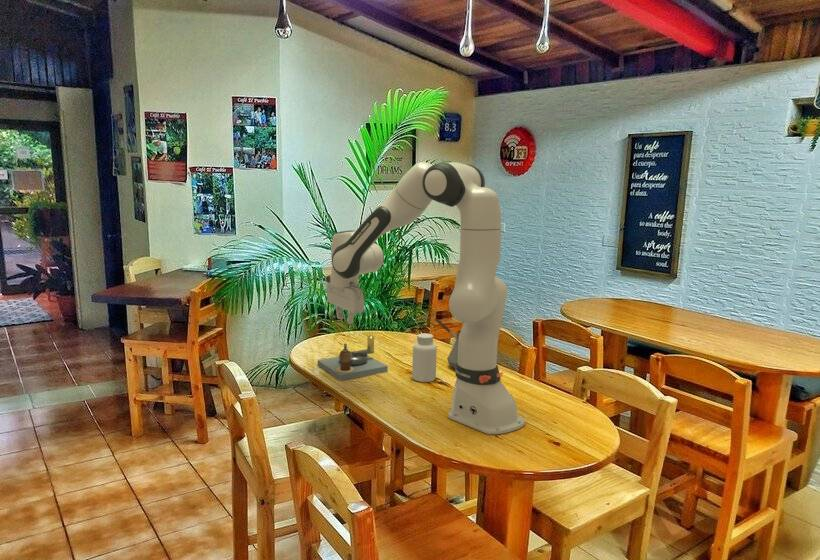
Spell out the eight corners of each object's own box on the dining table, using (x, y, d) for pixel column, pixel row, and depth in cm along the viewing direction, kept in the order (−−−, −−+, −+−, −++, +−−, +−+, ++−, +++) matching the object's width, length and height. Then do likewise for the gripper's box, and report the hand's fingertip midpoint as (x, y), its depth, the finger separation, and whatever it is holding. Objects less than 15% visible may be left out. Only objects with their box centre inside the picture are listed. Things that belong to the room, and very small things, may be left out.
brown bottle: (352, 369, 190) (352, 344, 189) (343, 371, 188) (343, 345, 187) (347, 366, 193) (347, 341, 191) (338, 368, 191) (338, 343, 190)
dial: (380, 361, 200) (380, 339, 199) (347, 367, 193) (347, 344, 191) (366, 353, 208) (366, 332, 207) (334, 359, 201) (333, 337, 200)
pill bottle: (426, 384, 185) (428, 340, 182) (407, 378, 190) (408, 335, 187) (440, 378, 191) (441, 334, 188) (421, 372, 196) (422, 330, 193)
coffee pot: (486, 368, 201) (488, 327, 199) (463, 375, 194) (465, 332, 191) (444, 353, 217) (446, 315, 215) (422, 359, 210) (423, 319, 208)
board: (387, 371, 196) (387, 364, 196) (340, 381, 186) (340, 374, 186) (362, 357, 211) (362, 351, 211) (317, 365, 201) (317, 358, 201)
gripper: (369, 284, 179) (369, 326, 181) (339, 274, 195) (339, 313, 198) (351, 286, 175) (351, 329, 178) (322, 275, 192) (323, 315, 194)
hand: (345, 321), depth 188 cm, fingers open, 5 cm apart
